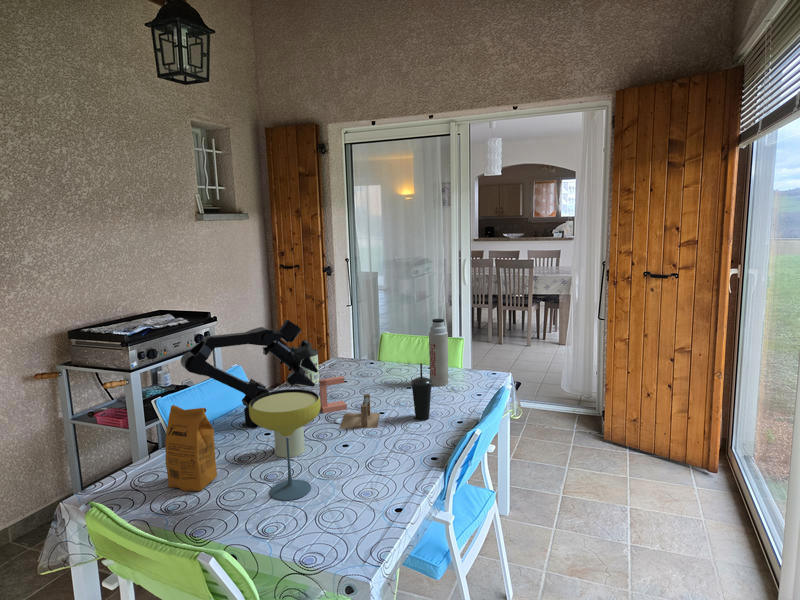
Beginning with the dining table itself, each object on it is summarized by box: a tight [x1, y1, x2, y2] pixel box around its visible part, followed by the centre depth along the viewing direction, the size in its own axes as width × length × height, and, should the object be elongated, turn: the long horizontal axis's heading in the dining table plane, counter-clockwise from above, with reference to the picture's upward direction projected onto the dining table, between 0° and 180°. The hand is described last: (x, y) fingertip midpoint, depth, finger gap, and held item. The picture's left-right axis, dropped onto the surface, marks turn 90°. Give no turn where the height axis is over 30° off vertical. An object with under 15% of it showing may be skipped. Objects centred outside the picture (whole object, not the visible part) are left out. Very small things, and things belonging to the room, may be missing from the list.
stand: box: [338, 393, 381, 430], centre depth 186 cm, size 13×14×8 cm
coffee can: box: [296, 348, 320, 387], centre depth 233 cm, size 10×10×14 cm
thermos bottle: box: [428, 318, 449, 387], centre depth 226 cm, size 8×8×28 cm
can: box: [273, 426, 306, 459], centre depth 164 cm, size 9×9×12 cm
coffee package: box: [165, 404, 218, 492], centre depth 145 cm, size 10×12×22 cm
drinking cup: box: [410, 363, 433, 421], centre depth 188 cm, size 8×8×20 cm
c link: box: [318, 375, 348, 414], centre depth 198 cm, size 9×5×12 cm, turn 114°
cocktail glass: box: [249, 388, 321, 502], centre depth 139 cm, size 18×18×25 cm
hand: (315, 378), depth 196 cm, fingers open, 9 cm apart
